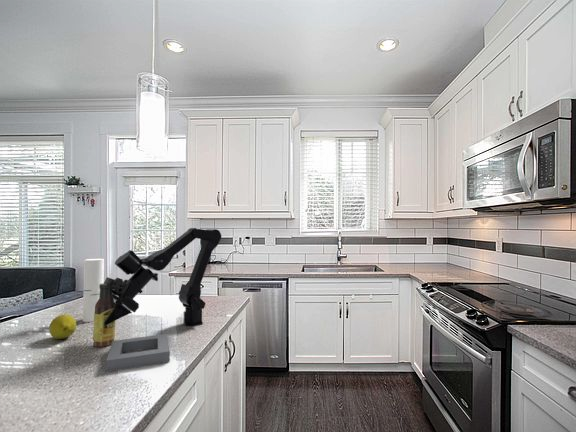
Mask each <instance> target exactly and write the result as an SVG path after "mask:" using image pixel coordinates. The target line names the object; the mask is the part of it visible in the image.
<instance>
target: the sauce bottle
mask: <svg viewBox="0 0 576 432" xmlns="http://www.w3.org/2000/svg"><path fill="white" fill-rule="evenodd" d="M99 288H100V296H99V297H100V298H99V300H98V301H97V303H96V305H95V313H94V321H93V330H92V331H93V333H92V335H93V336H92V341H93V343H92V344H93V346H94V347H96V348H97V347H98V348H102V347H108V346H111V344H112V341H115V338H116V321H117V320H115V321H113V322H111V323H109V324H107V325H106V324H105V323H104V322H105V320H106V319H107V318H108V316H109V315H110V314H111V312H112V311H113V310H114V308H115V303H114V300H113V297H112V296H113V295H112V292H113V289H109V288H106V284H104V283H103V284H100V286H99Z"/></svg>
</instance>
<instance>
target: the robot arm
mask: <svg viewBox="0 0 576 432" xmlns="http://www.w3.org/2000/svg"><path fill="white" fill-rule="evenodd" d="M196 239H200V242H199V243H200V250H199V253H198V255H197V257H196V261H195V262H194V263H195V264H194V266H193V269H192V272H191V274H190V276H189V279H188V281H187V283H185V284H184V283H182V284H181V287H180V290H179V292H178V293H177V294H178V299H179V302H180V303H181V304H182V306H183V308H184V307H185V308H184V311H183V324H185V326H186V327H188V326H189V327H190V326H196V325H203V324H204V322H203V309H205V307H206V304H207V303H206V302H205V301H204V300H203V299H202V298H201V294H202V288H201V287H202V286H201V285H202V281H203V278H204V275H205V272H206V269H207V267H208V264H209V261H210V258H211V256H212V253H213V251H214V250H215V249H216V248H217V247H218V246H219V244H220V242H221V239H222V233H221V231H220V230H219V229H215V228H209V229H208V228H207V229H203V228H202V229H200V228H198V227H190V228H188V229H187V230H186V231H185V232H184V233H183V234H181V235H180V236H179V237H177V238H176V239H174V241H172V242H171V243H169V244H168V245H167V246H166V247H164V248H161V249H159V250H157V251H154V252H153V253H151V254H149V255H148V256H147V257H143V258H140V257H139V256H138V255H137V254H136V253H135V251H133V250H132V249H131V250H128V251H127V252H124V253H123V254H122V255H120V256H119V257H118V258H117V259H116V260H115V262H114V265H116V267H118V269H120V270H121V271H122V272H123V273H125V274H126V275H127V276H128V275H131V276H130V277H129V279H124V280H123V279H122V278H119V277H116V278H115V279H114V278H110V277H106V278H105V279H104V284H106V288H109V289H113V292H112V295H113V296H112V297H113V300H114V303H115V308H114V310H113V311H112V312H111V314H110V315H109V316H108V318H107V319H106V320H105V322H104V323H105V324H106V325H107V324H109V323H111V322H113V321H115V320H116V321H117V320H119V319H121V318H123V317H126V316H128V315H129V314H133V313H135V312H136V311H137V310H138V309H139V308H140V304H139V303H138V302H137V301H136V300H135V297H136V296H138V295H139V294H142V293H143V289H144V288H145V287H146V286H147V284H149V282H151V280H152V281H155V282H158V281H159V277H158V275H159V274H158V272H157V273H156V272H153V271H159V272H161V271H163V270H164V269H165V268H166V267H167V266H168V265H169V264H170V263H171V261H172V260H173V258H174V257H175V256H176V255H177V254H178V253H179V252H180V251H182V250H183V249H184V248H186V247H187V246H188V245H189V244H191V243H192V242H193V241H194V240H196ZM144 266H145V267H147V268H145V267H144ZM152 270H153V271H152ZM132 312H133V313H132ZM116 321H115V322H116Z"/></svg>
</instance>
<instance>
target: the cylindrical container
mask: <svg viewBox="0 0 576 432" xmlns="http://www.w3.org/2000/svg"><path fill="white" fill-rule="evenodd" d="M104 272H105V259H104V258H87V259H84V261H83V292H82V296H83V297H82V298H83V300H82V322H83V323H85V322H86V323H89V322H90V323H94V313H95V305H96V303H97V301H98V300H99V298H100V297H99V296H100V288H99V286H100V284H103V283H104V282H105V279H104V277H105V276H104V274H105V273H104Z"/></svg>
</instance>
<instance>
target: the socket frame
mask: <svg viewBox="0 0 576 432" xmlns="http://www.w3.org/2000/svg"><path fill="white" fill-rule="evenodd" d="M142 349H143V350H144V351H143V350H142ZM150 349H151V350H150ZM135 350H136V352H134V351H135ZM128 351H129V353H127V352H128ZM170 351H171V349H170V344H169V337H168V334H167V333H164V334H163V333H162V334H157V335H148V336H142V337H141V336H140V337H139V336H138V337H133V338H125V339H117V340H115V339H114V341H112V344H111V345H110V347H109V351H108V354H107V357H106V360H105V372H106V373H107V372H113V371H114V372H115V371H121V370H126V369H128V370H129V369H132V368H133V369H134V368H139V367H145V366H146V367H147V366H152V365H157V364H158V365H159V364H164V363H170V361H171V360H170V359H171V357H170V356H171V355H170V354H171V352H170Z"/></svg>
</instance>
